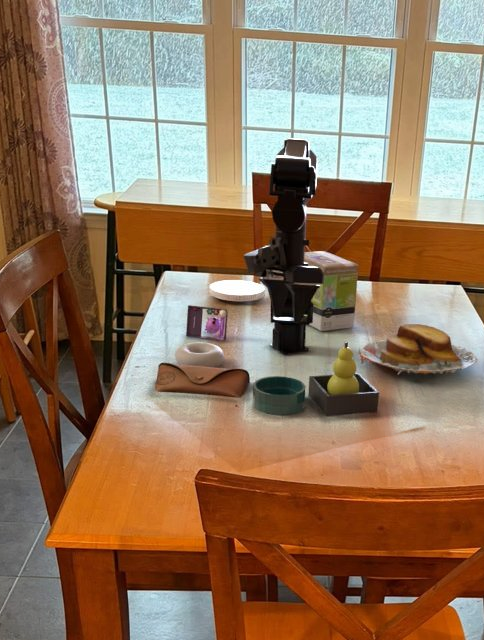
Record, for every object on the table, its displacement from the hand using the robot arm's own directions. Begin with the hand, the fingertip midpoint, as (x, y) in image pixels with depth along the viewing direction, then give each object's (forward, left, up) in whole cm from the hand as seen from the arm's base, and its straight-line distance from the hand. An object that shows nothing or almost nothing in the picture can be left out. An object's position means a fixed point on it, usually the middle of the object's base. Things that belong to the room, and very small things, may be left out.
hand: (286, 320), depth 158 cm
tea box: (-29, -30, -13) cm, 44 cm away
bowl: (+8, +11, -12) cm, 19 cm away
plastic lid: (-20, -55, -13) cm, 60 cm away
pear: (-3, +16, -12) cm, 20 cm away
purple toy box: (+1, -31, -13) cm, 34 cm away
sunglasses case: (+17, -3, -13) cm, 21 cm away
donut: (+11, -16, -13) cm, 23 cm away
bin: (-3, +16, -12) cm, 20 cm away
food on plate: (-31, +4, -13) cm, 34 cm away
